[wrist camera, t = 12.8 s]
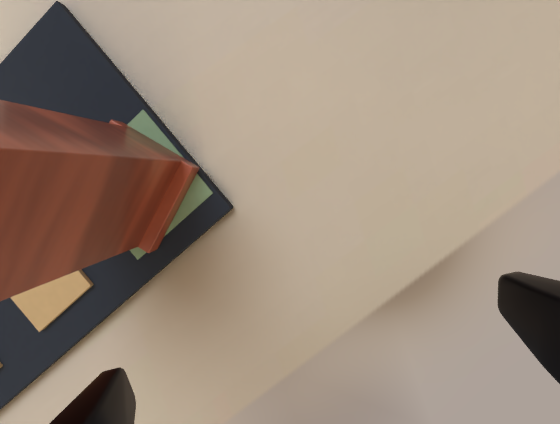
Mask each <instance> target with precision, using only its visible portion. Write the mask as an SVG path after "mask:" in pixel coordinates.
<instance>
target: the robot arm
mask: <svg viewBox="0 0 560 424" xmlns="http://www.w3.org/2000/svg"><path fill="white" fill-rule="evenodd" d="M498 308H499V311H500V313H501V314H502V316H503V317H504V318H505V319H506V321H507V322H508V323H509V324H510V326H511V327H512V328H513V329H514V331H515V332H516V333H517V334H518V336H519V337H520V338H521V339H522V341H523V342H524V343H525V344H526V346H527V347H528V348H529V349H530V351H531V352H532V353H533V354H534V356H535V357H536V358H537V359H538V361H539V362H540V363H541V364H542V365H543V366H544V368H545V369H546V370H547V371H548V372H549V373H550V374H551V375H552V376H553V377H554V378H555V380H557V382H558V383H559V384H560V281H557V280H553V279H548V278H544V277H540V276H535V275H531V274H526V273H522V272H513V273H509V274H504V275H502V276H501V277H500V278H499V281H498ZM135 409H136V401H135V395H134V393H133V390H132V387H131V385H130V382H129V380H128V377H127V375H126V372H125V371H124V369H122V368H116V369H111V370H107V371H104V372H102V373H101V374H100V375H99V376H98V377H97V378H96V379H95V380H94V381H93V382H92V383H91V384H89V385H88V386H87V387H86V388H85V389H84V390H83V391H82V392H81V393H80V394H79V395H78V396H77V397H76V398H75V399H74V400H73V401H72V402H71V403H70V404H69V405H68V406H67V407H66V408H65V409H64V410H63V411H62V412H61V413H60V414H59V415H58V416H57V417H56V418H55V419H54V420H53V421H52V422H51V423H50V424H134V419H135Z"/></svg>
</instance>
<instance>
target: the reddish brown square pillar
mask: <svg viewBox="0 0 560 424" xmlns="http://www.w3.org/2000/svg"><path fill="white" fill-rule="evenodd" d="M198 170H199V167H198V166H196V165H195V164H193V163H191V162H190V161H188V160H186V159H184V158H183V157H181V156H179V155H178V154H176V153H174V152H173V151H171V150H169V149H167V148H166V147H164V146H162V145H161V144H159V143H157V142H155V141H154V140H152V139H150V138H149V137H147V136H145V135H143V134H142V133H140V132H138V131H137V130H135V129H133V128H132V127H130V126H128V125H126V124H125V123H123V122H120V121H116V120H110V122H109V123H106V122H102V121H97V120H92V119H88V118H83V117H78V116H74V115H69V114H64V113H60V112H55V111H50V110H46V109H41V108H37V107H32V106H27V105H23V104H18V103H13V102H9V101H4V100H0V301H2V300H5V299H7V298H10V297H12V296H15V295H18V294H20V293H23V292H25V291H28V290H30V289H33V288H35V287H38V286H40V285H43V284H45V283H48V282H50V281H53V280H55V279H58V278H60V277H63V276H65V275H68V274H70V273H73V272H76V271H78V270H81V269H83V268H86V267H88V266H91V265H93V264H96V263H98V262H101V261H103V260H106V259H108V258H111V257H113V256H116V255H118V254H121V253H123V252H126V251H128V250H131V249H134V248H136V247H139V248H140V249H142V250H144V251H145V252H147V253H151V252H153V251H155V250H157V249H158V247H159V245H160V243H161V241H162V240H163V238H164V236H165V234H166V232H167V230H168V228H169V226H170V224H171V222H172V220H173V218H174V216H175V215H176V213H177V211H178V209H179V207H180V205H181V203H182V201H183V199H184V197H185V195H186V193H187V191H188V190H189V188H190V186H191V184H192V182H193V180H194V178H195V176H196V174H197V172H198Z"/></svg>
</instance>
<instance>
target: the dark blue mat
mask: <svg viewBox="0 0 560 424" xmlns="http://www.w3.org/2000/svg"><path fill="white" fill-rule="evenodd" d="M0 100H4V101H9V102H13V103H18V104H23V105H27V106H32V107H37V108H41V109H46V110H50V111H55V112H60V113H64V114H69V115H74V116H78V117H83V118H88V119H92V120H97V121H102V122H106V123H109V122H110V120H116V121H120V122H123V123H125V124H126V125H128V126H130V127H132V128H133V129H135V130H137V131H138V132H140V133H142V134H143V135H145V136H147V137H149V138H150V139H152V140H154V141H155V142H157V143H159V144H161V145H162V146H164V147H166V148H167V149H169V150H171V151H173V152H174V153H176V154H178V155H179V156H181V157H183V158H184V159H186V160H188V161H190V162H191V163H193V164H195V165H196V166H198V167H199V170H198V172H197V174H196V176H195V178H194V180H193V182H192V184H191V186H190V188H189V190H188V191H187V193H186V195H185V197H184V199H183V201H182V203H181V205H180V207H179V209H178V211H177V213H176V215H175V216H174V218H173V220H172V222H171V224H170V226H169V228H168V230H167V232H166V234H165V236H164V238H163V240H162V241H161V243H160V245H159V247H158V249H157V250H155V251H153V252H151V253H147V252H145V251H144V250H142V249H140V248H139V247H136V248H134V249H131V250H128V251H126V252H123V253H121V254H118V255H116V256H113V257H111V258H108V259H106V260H103V261H101V262H98V263H96V264H93V265H91V266H88V267H86V268H83V269H81V270H78V271H76V272H73V273H70V274H68V275H65V276H63V277H60V278H58V279H55V280H53V281H50V282H48V283H45V284H43V285H40V286H38V287H35V288H33V289H30V290H28V291H25V292H23V293H20V294H18V295H15V296H12V297H10V298H7V299H5V300H2V301H0V409H2V408H3V407H4V406H5V405H6V404H7V403H9V402H10V401H11V400H12V399H13V398H14V397H15V396H17V395H18V394H19V393H20V392H21V391H22V390H24V389H25V388H26V387H27V386H28V385H29V384H30V383H32V382H33V381H34V380H35V379H36V378H37V377H39V376H40V375H41V374H42V373H43V372H44V371H45V370H47V369H48V368H49V367H50V366H51V365H52V364H54V363H55V362H56V361H57V360H58V359H59V358H60V357H62V356H63V355H64V354H65V353H66V352H67V351H69V350H70V349H71V348H72V347H73V346H74V345H75V344H77V343H78V342H79V341H80V340H81V339H82V338H84V337H85V336H86V335H87V334H88V333H89V332H91V331H92V330H93V329H94V328H95V327H96V326H97V325H99V324H100V323H101V322H102V321H103V320H104V319H106V318H107V317H108V316H109V315H110V314H111V313H112V312H114V311H115V310H116V309H117V308H118V307H119V306H121V305H122V304H123V303H124V302H125V301H126V300H127V299H129V298H130V297H131V296H132V295H133V294H134V293H136V292H137V291H138V290H139V289H140V288H141V287H142V286H144V285H145V284H146V283H147V282H148V281H149V280H151V279H152V278H153V277H154V276H155V275H156V274H157V273H159V272H160V271H161V270H162V269H163V268H164V267H166V266H167V265H168V264H169V263H170V262H171V261H172V260H174V259H175V258H176V257H177V256H178V255H179V254H181V253H182V252H183V251H184V250H185V249H186V248H188V247H189V246H190V245H191V244H192V243H193V242H194V241H196V240H197V239H198V238H199V237H200V236H201V235H203V234H204V233H205V232H206V231H207V230H208V229H209V228H211V227H212V226H213V225H214V224H215V223H216V222H218V221H219V220H220V219H221V218H222V217H223V216H224V215H226V214H227V213H228V212H229V211H230V210H231V209H233V206H232V205H231V203H230V202H229V201H228V200H227V199H226V197H225V196H224V195H223V194H222V193H221V191H220V190H219V189H218V188H217V187H216V185H215V184H214V183H213V182H212V181H211V180H210V178H209V177H208V176H207V175H206V174H205V172H204V171H203V170H202V169H201V168H200V166H199V165H198V164H197V163H196V162H195V160H194V159H193V158H192V157H191V156H190V154H189V153H188V152H187V151H186V150H185V149H184V147H183V146H182V145H181V144H180V143H179V141H178V140H177V139H176V138H175V137H174V135H173V134H172V133H171V132H170V131H169V129H168V128H167V127H166V126H165V125H164V123H163V122H162V121H161V120H160V119H159V117H158V116H157V115H156V114H155V113H154V112H153V110H152V109H151V108H150V107H149V106H148V104H147V103H146V102H145V101H144V100H143V98H142V97H141V96H140V95H139V94H138V92H137V91H136V90H135V89H134V88H133V86H132V85H131V84H130V83H129V82H128V81H127V79H126V78H125V77H124V76H123V75H122V73H121V72H120V71H119V70H118V69H117V67H116V66H115V65H114V64H113V63H112V61H111V60H110V59H109V58H108V57H107V55H106V54H105V53H104V52H103V51H102V50H101V48H100V47H99V46H98V45H97V44H96V42H95V41H94V40H93V39H92V38H91V36H90V35H89V34H88V33H87V32H86V30H85V29H84V28H83V27H82V26H81V24H80V23H79V22H78V21H77V20H76V19H75V17H74V16H73V15H72V14H71V13H70V11H69V10H68V9H67V8H66V7H65V5H63V4H61V3H60V2H58V1H56V2H55V3H54V4H53V5H52V7H51V8H50V9H49V10H48V11H47V12H46V13H45V14H44V16H43V17H42V18H41V19H40V20H39V21H38V22H37V23H36V25H35V26H34V27H33V28H32V29H31V30H30V31H29V32H28V33H27V35H26V36H25V37H24V38H23V39H22V40H21V41H20V42H19V44H18V45H17V46H16V47H15V48H14V49H13V50H12V51H11V53H10V54H9V55H8V56H7V57H6V58H5V59H4V60H3V61H2V63H1V64H0Z"/></svg>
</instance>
